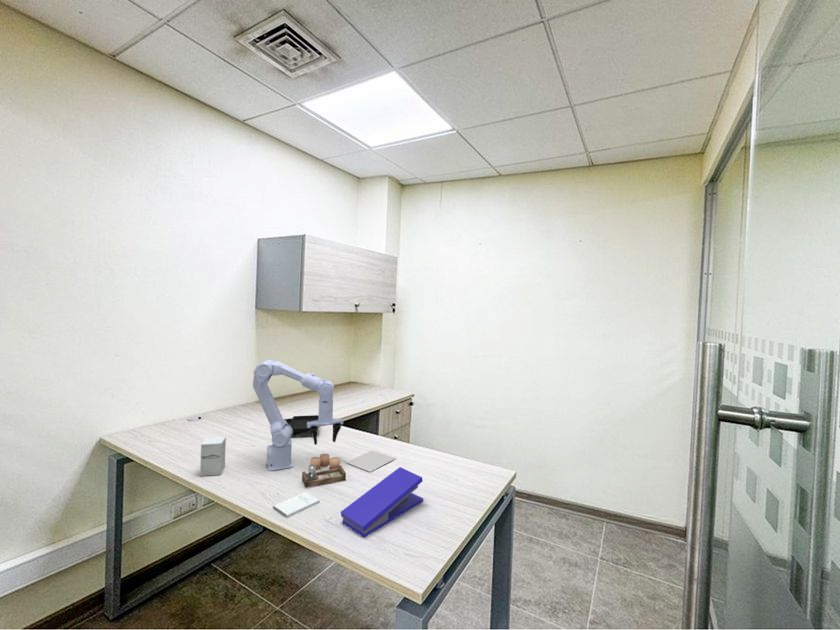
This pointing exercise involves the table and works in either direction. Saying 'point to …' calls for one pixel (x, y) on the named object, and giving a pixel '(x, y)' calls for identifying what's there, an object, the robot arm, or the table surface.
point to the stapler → (383, 502)
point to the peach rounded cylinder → (324, 460)
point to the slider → (312, 473)
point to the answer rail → (325, 477)
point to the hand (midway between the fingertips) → (324, 442)
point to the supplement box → (212, 456)
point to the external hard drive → (296, 504)
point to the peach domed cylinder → (334, 463)
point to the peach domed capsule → (316, 462)
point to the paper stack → (371, 460)
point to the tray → (301, 423)
